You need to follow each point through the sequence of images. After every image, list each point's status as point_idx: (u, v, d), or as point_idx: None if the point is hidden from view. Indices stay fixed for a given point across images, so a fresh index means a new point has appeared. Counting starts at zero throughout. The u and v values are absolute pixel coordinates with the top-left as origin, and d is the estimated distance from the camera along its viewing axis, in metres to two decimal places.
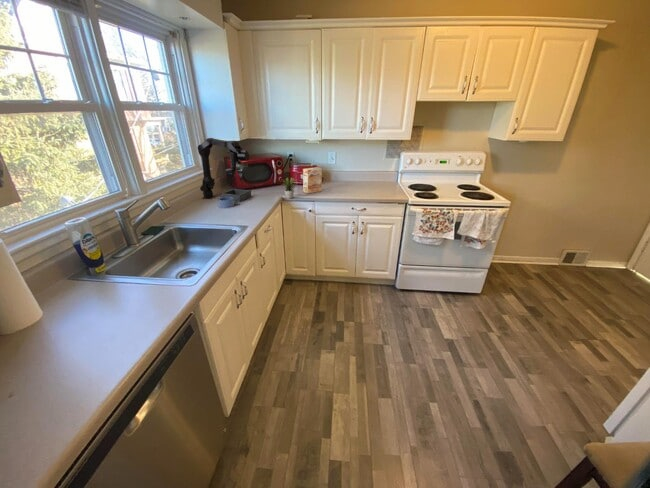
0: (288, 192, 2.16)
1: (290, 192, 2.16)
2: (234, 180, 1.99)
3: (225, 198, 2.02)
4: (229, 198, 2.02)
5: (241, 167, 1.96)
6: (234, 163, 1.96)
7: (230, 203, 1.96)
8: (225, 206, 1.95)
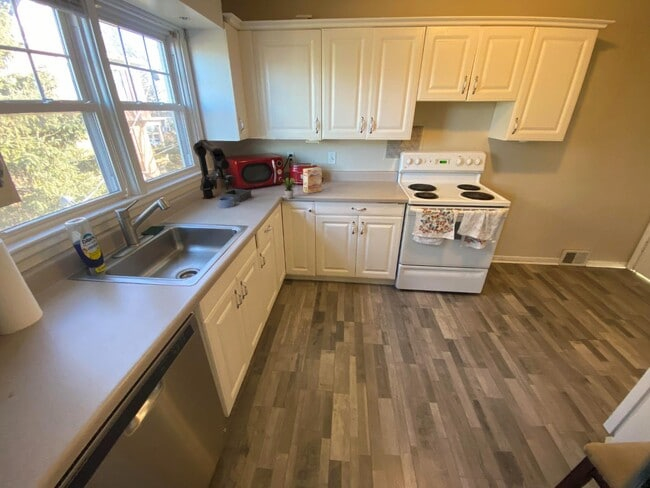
0: (288, 192, 2.16)
1: (290, 192, 2.16)
2: (214, 186, 1.98)
3: (225, 198, 2.02)
4: (229, 198, 2.02)
5: None
6: None
7: (230, 203, 1.96)
8: (225, 206, 1.95)
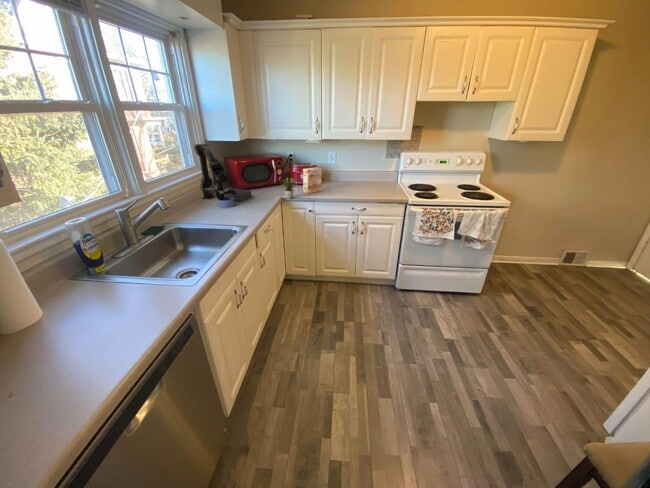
0: (288, 192, 2.16)
1: (290, 192, 2.16)
2: (218, 199, 1.99)
3: (225, 198, 2.02)
4: (229, 198, 2.02)
5: None
6: None
7: (230, 203, 1.96)
8: (225, 206, 1.95)
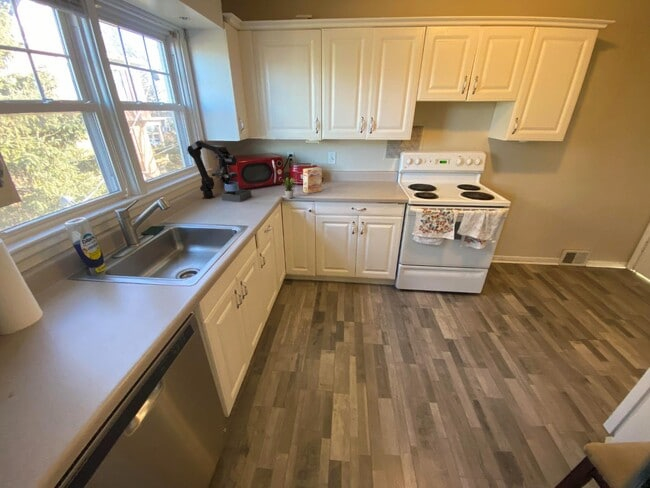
0: (288, 192, 2.16)
1: (290, 192, 2.16)
2: None
3: (230, 182, 2.09)
4: (234, 182, 2.10)
5: None
6: None
7: (235, 187, 2.04)
8: (230, 189, 2.02)
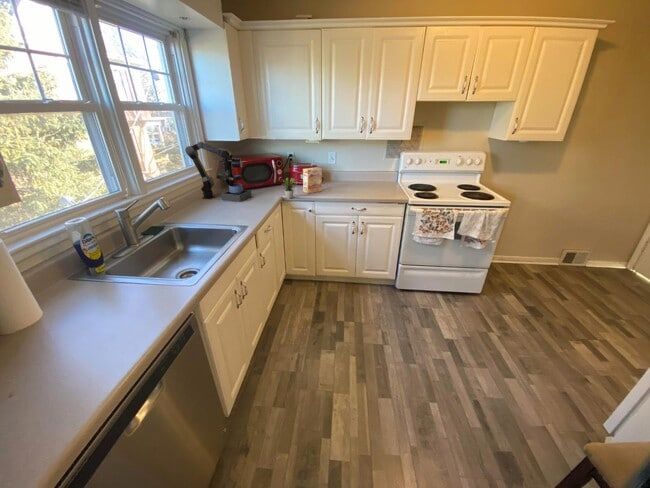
0: (288, 192, 2.16)
1: (290, 192, 2.16)
2: (228, 185, 2.14)
3: (234, 184, 2.17)
4: (238, 185, 2.18)
5: None
6: None
7: (239, 189, 2.12)
8: (235, 191, 2.11)
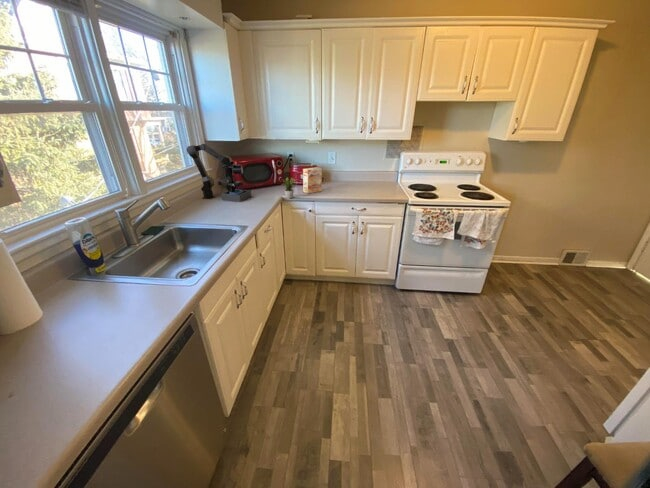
0: (288, 192, 2.16)
1: (290, 192, 2.16)
2: (229, 191, 2.17)
3: (235, 191, 2.20)
4: (239, 191, 2.20)
5: None
6: None
7: None
8: None
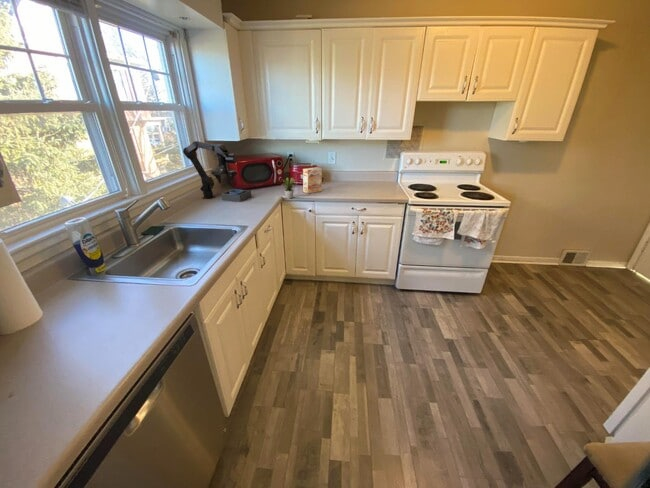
0: (288, 192, 2.16)
1: (290, 192, 2.16)
2: (218, 181, 2.11)
3: (235, 191, 2.20)
4: (239, 191, 2.20)
5: None
6: None
7: None
8: None
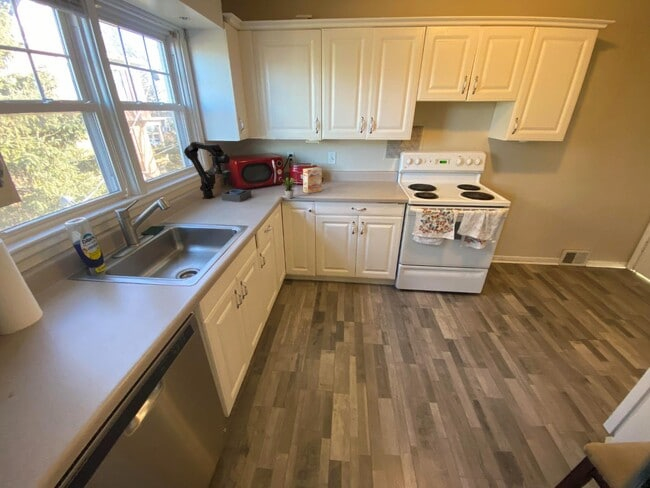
0: (288, 192, 2.16)
1: (290, 192, 2.16)
2: (213, 181, 2.08)
3: (235, 191, 2.20)
4: (239, 191, 2.20)
5: None
6: None
7: None
8: None
